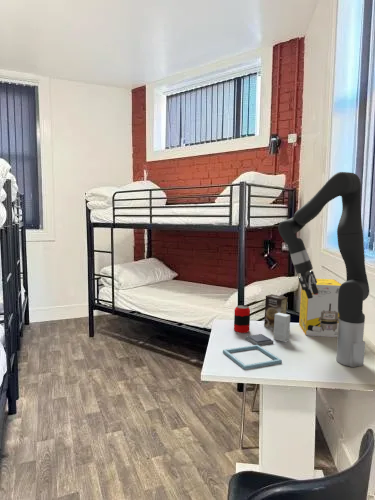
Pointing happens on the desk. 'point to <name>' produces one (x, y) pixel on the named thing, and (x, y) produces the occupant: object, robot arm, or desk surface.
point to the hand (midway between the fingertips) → (313, 295)
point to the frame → (275, 361)
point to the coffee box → (274, 308)
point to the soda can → (242, 319)
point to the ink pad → (259, 339)
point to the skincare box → (281, 327)
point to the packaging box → (320, 309)
